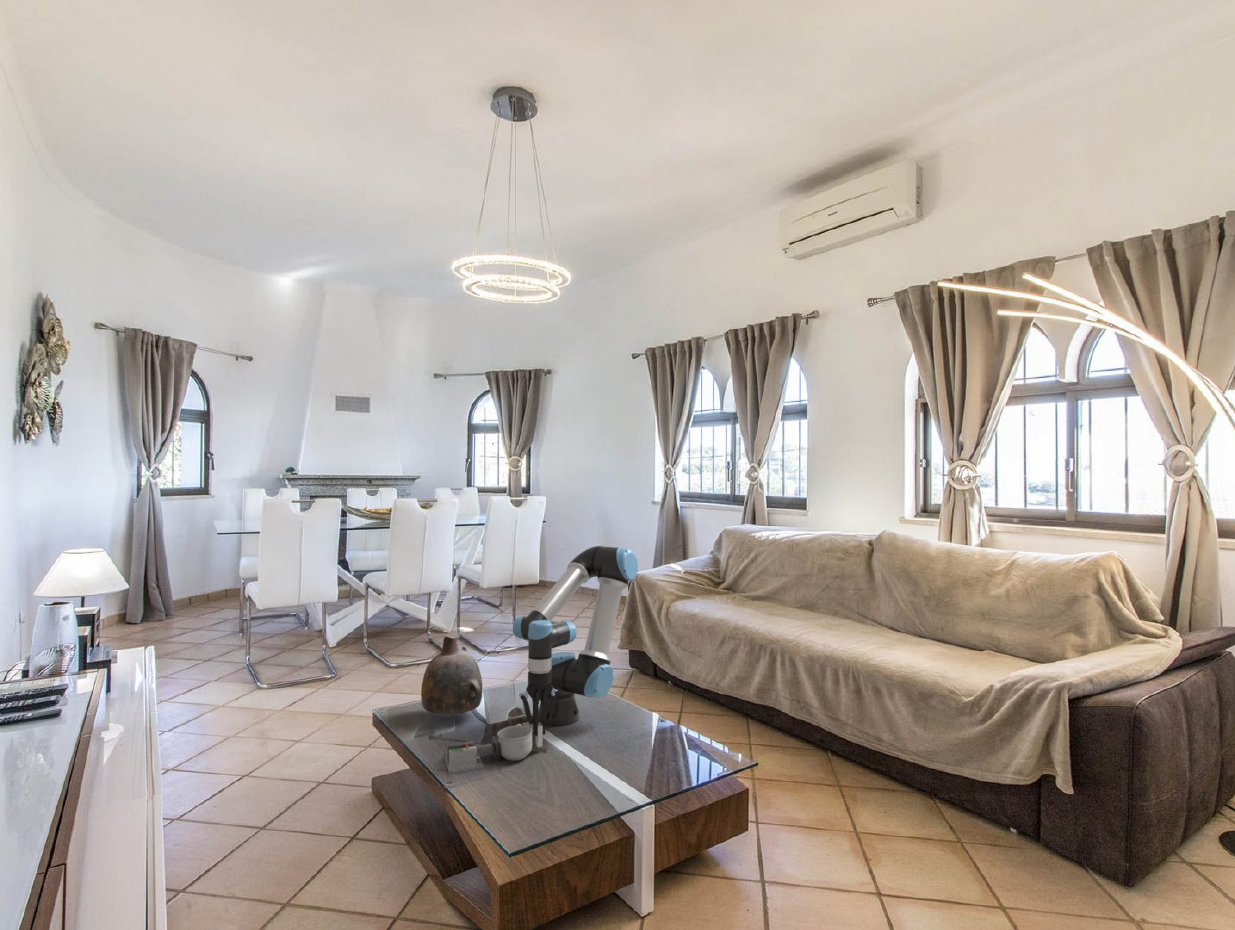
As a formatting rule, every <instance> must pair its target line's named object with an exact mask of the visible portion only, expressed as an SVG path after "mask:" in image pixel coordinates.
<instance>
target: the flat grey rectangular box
mask: <svg viewBox="0 0 1235 930" xmlns="http://www.w3.org/2000/svg"><path fill="white" fill-rule="evenodd" d="M465 743H467V745H468V747H469V749H467V748H466V747H465ZM471 746H472V747H471ZM476 746H477V745H475V742H474V740H471V741H465V742H464V741H463V742H455V743H451V744H446V754H445V753H444V754H443V755H442V756H443V760H444V765H445V766H446V769H447V772H448V774H456V773H462V772H469V771H475V770H481V769H484V764H483V761H482V759H481V757H480V755H479V756H477V747H476ZM464 747H465V748H464Z"/></svg>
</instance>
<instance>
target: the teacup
mask: <svg viewBox="0 0 1235 930" xmlns="http://www.w3.org/2000/svg"><path fill="white" fill-rule="evenodd" d="M496 735H497V740H498V742H499V744H500V757H502V758H504V759H505V760H507V761H512V762H515V761H516V762H517V761H520V760H523V759H525V758H526V757H528V755H529V754H530V753H531V752H532V749H533V728H531V727H529V725H527V726H526V725H522V724H521V723H517V724H515V725H510V726H506V727H504V728H501V729H499V731H498V732H497V734H496Z"/></svg>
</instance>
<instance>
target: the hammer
mask: <svg viewBox="0 0 1235 930" xmlns="http://www.w3.org/2000/svg"><path fill="white" fill-rule="evenodd" d="M475 746H476V747H477V756H479V757H480V756H485V755H489V754H490V755H491V756H492V757H493V759H494V761H495V762H500V761H501V754H500V744H499V742H498V738H497V737H496V736H495V735H493V736H491V737H490V743H486V744H479V745H475ZM465 747H466V748H467V749H469V747H468V745H467V743H465ZM465 747H464V748H465ZM471 747H472V746H471Z"/></svg>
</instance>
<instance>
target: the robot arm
mask: <svg viewBox="0 0 1235 930" xmlns="http://www.w3.org/2000/svg"><path fill="white" fill-rule="evenodd" d="M638 571H639V563H638V559H637V556H636V554H635V553H634V551H633V550H632V549H630V548H624V547H621V546H619V547H613V546H603V545H596V546H592V547H590V548H589V547H588V548H586V549H585V550H583V551H582V552H580V553H579V554H578V555H576V556H575V557H574V558H573V559H572V560H571V561H570V562H569V563H568V565H567V567H566V570H565V572H564V573H563V574H562V575H561V576H560V577H559V579H558V580H557V581H556V582H555V583H554V585H553V586H552V587H551V588H550V589H549V591H547V593H546V594H545V595H544V596H543V597H542V599H541V600H540V601H539V602H538V603H537V604H536V605H535V606H534V608H533V609H532V610H531V611H530V613H528V615H527V616H525V615H524V616H518V617H517V618H516V619H515V620H514V622H513V624H512V632H513V635H514V636H515V637H516V638H517V639H521V640H523V641H527V642H528V643H527V645H528V646H527V648H528V650H527V651H528V655H527V657H528V658H527V663H528V664H527V670H528V672H527V686H526V688H525V691H524V692H523V693H519V695H518V696H519V698H520V699H521V701H522V705H523V709H524V712H525V713H524V714H525V718H526V722H527V723H528V724H529V725H530V726H532V736H534V737H535V745H536V747H537V748H541V747H543V736H545V734H546V729H547V728H546V726H547V725H549V726H564V725H565V726H566V725H571V724H573V723H576V722H577V721H578V720H579V719H580V710H579V705H578V702H577V700H576V697H575V696H576V695H579V696H583V697H587V698H589V699H590V698H593V699H600V698H603V697H604V696H606V695H607V694H608V693H609V691H610V690H611V688H612V685H613V683H614V679H615V674H614V669H613V667H612V666H611V659H610V657H609V651H610V646H611V643H612V642H611V641H612V638H613V633H614V628H615V624H616V620H617V616H618V611H619V607H620V602H621V599H622V598H621V597H622V595H623V594H622V593H623V590H625V589H626V588H628V586H629V582H630V581H634V580H635V578H636V577H637V575H638ZM593 578H596V581H597V583H599V586H598V587H599V588H598V592H597V595H596V600H595V603H594V608H593V613H592V617H591V621H590V624H589V629H588V631H587V632H588V633H587V637H586V641H585V646H584V649H583V650H581V651H580V652H579V653H578V657H577V659H576V654H575V652H573V651H562V652H561V651H560V652H555V653H553V649H555V648H559V647H562V646H566V645H568V644H570V643H572V642H573V641H574V640H575V639H576V637H577V634H578V633H577V627H576V625H575V624H574V622H572V621H570V620H561V621H553V620H554V618H555V617H556V616H557V615H558V613H559V612H560V611H561V610H562V608H564V606H565V605H566V604H567V603H568V601H569V600H570V599H571V598H572V596H574V594H575V593H576V592H577V591H578V589H579V588H580V587H581V586H582V584H586V583H588V581H589V580H590V579H593ZM529 697H530V698H531V700H532V713H531V709H530V703H529V701H528V699H529Z"/></svg>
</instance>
